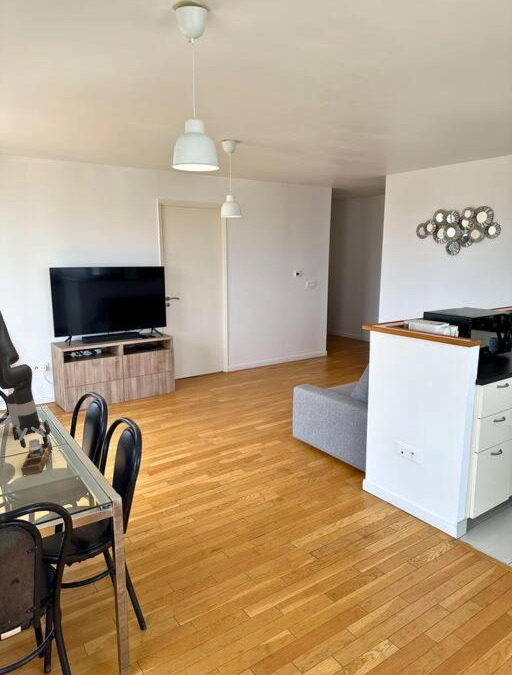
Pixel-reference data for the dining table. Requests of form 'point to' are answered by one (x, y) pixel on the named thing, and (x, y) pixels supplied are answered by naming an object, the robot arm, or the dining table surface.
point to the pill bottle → (35, 448)
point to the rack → (36, 461)
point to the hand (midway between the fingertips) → (35, 445)
